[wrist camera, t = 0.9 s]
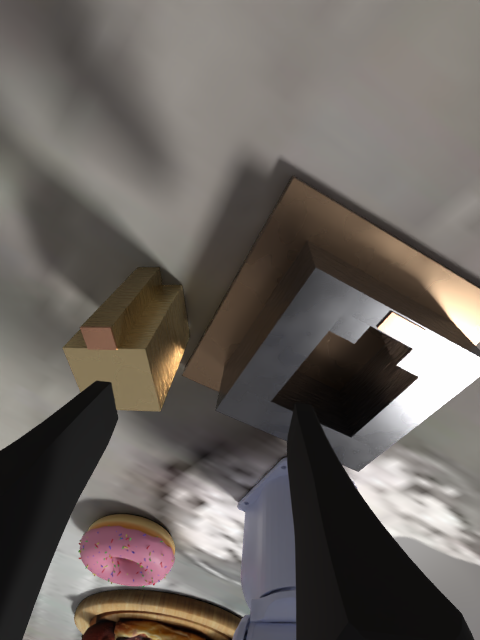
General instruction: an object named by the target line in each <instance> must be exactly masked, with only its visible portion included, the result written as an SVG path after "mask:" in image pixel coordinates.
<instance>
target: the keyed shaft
mask: <svg viewBox="0 0 480 640" xmlns="http://www.w3.org/2000/svg"><path fill="white" fill-rule="evenodd" d="M189 338H190V332H189V326H188V319H187V312H186V306H185V299H184V292H183V286H182V285H163V284H162V278H161V273H160V268H159V267H138V268H137V269H136V270H135V271H134V272H133V273H132V274H131V275H130V276H129V277H128V278H127V279H126V280H125V281H124V282H123V283H122V285H121V286H120V287H119V288H118V289H117V290H116V291H115V292H114V293H113V294H112V295H111V296H110V297H109V298H108V299H107V300H106V301H105V302H104V303H103V304H102V305H101V306H100V307H99V308H98V309H97V310H96V311H95V312H94V314H93V315H92V316H91V317H90V318H89V319H88V320H87V321H86V322H85V323H84V324H83V325H82V326H81V327H80V330H79V331H78V332H77V333H76V334H75V335H74V336H73V337H72V338H71V340H70V341H69V342H68V343H67V344H66V345H65V346H64V347H63V350H64V353H65V355H66V358H67V360H68V363H69V365H70V367H71V370H72V372H73V375H74V377H75V380H76V382H77V385H78V387H79V389H80V392H82V391H83V390H85V389H86V388H87V387H88V386H90V385H91V384H92V383H94V382H95V381H105V382H111V383H112V388H113V394H114V399H115V404H116V409H117V410H133V411H161V409H162V406H163V404H164V401H165V399H166V396H167V394H168V391H169V389H170V386H171V383H172V381H173V378H174V376H175V373H176V371H177V368H178V366H179V363H180V361H181V358H182V356H183V353H184V350H185V348H186V345H187V343H188V340H189Z"/></svg>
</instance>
